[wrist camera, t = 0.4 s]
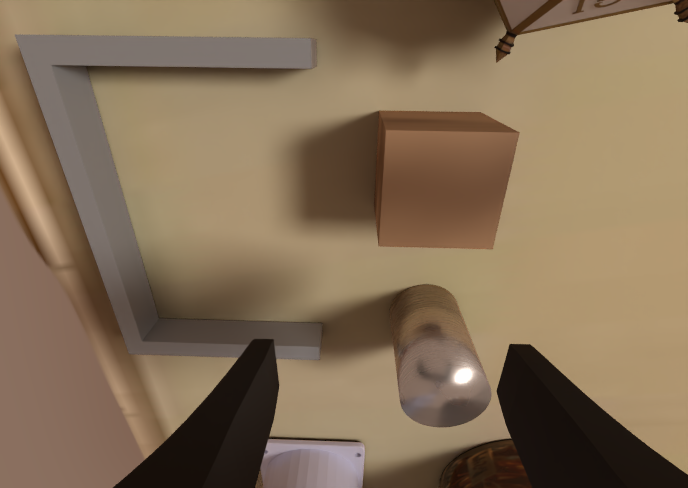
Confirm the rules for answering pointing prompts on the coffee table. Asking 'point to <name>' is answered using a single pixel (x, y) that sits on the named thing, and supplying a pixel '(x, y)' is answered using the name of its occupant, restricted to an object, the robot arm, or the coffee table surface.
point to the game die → (566, 14)
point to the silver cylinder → (436, 359)
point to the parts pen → (105, 190)
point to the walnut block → (441, 178)
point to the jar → (487, 468)
